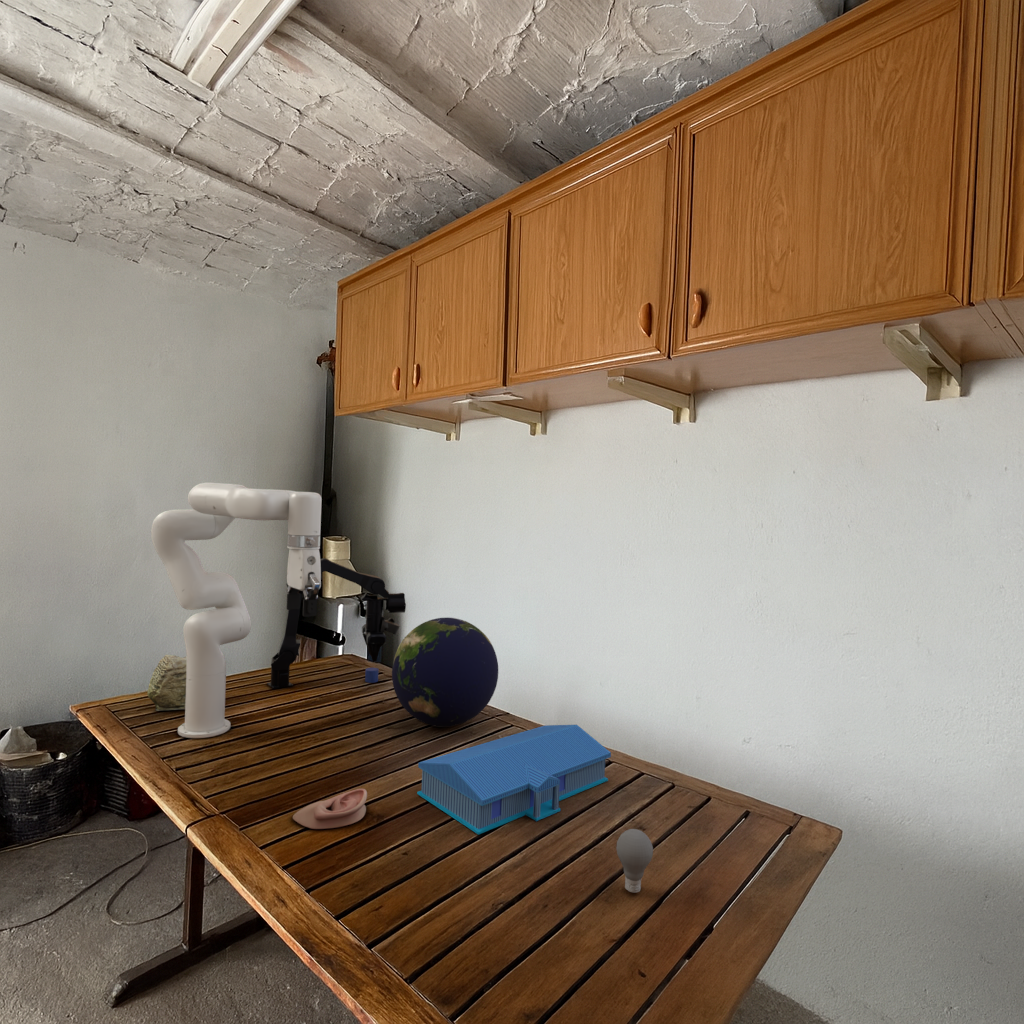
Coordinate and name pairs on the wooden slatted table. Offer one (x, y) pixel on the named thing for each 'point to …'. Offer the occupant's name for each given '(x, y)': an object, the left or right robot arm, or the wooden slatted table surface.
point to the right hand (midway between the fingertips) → (372, 658)
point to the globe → (445, 672)
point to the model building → (514, 776)
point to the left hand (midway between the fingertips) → (301, 612)
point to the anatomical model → (334, 811)
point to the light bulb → (634, 857)
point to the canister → (371, 675)
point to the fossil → (169, 683)
